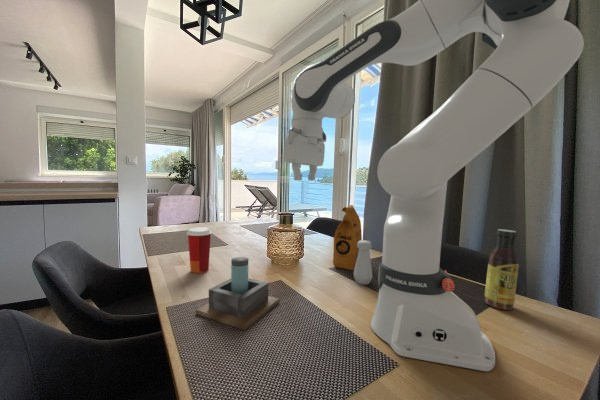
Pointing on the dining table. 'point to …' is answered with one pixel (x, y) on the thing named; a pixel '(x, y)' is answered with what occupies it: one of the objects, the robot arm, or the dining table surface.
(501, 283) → the sauce bottle
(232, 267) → the marker peg
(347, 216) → the coffee package
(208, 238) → the paper cup
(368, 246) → the salt shaker
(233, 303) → the grey box holder
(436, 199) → the robot arm
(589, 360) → the dining table surface
